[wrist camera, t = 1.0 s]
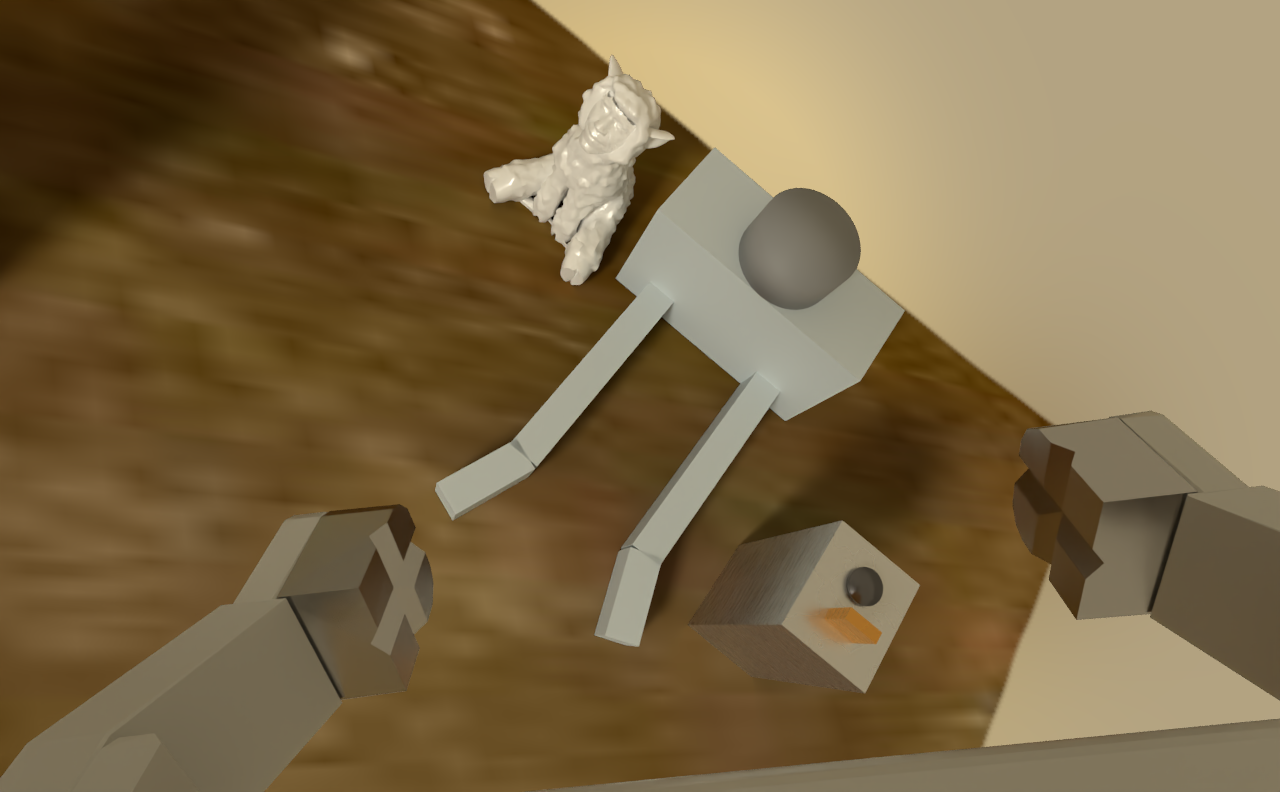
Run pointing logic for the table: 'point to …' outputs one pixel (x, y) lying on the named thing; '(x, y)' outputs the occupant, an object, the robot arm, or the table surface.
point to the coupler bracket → (713, 347)
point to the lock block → (807, 608)
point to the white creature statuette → (587, 171)
